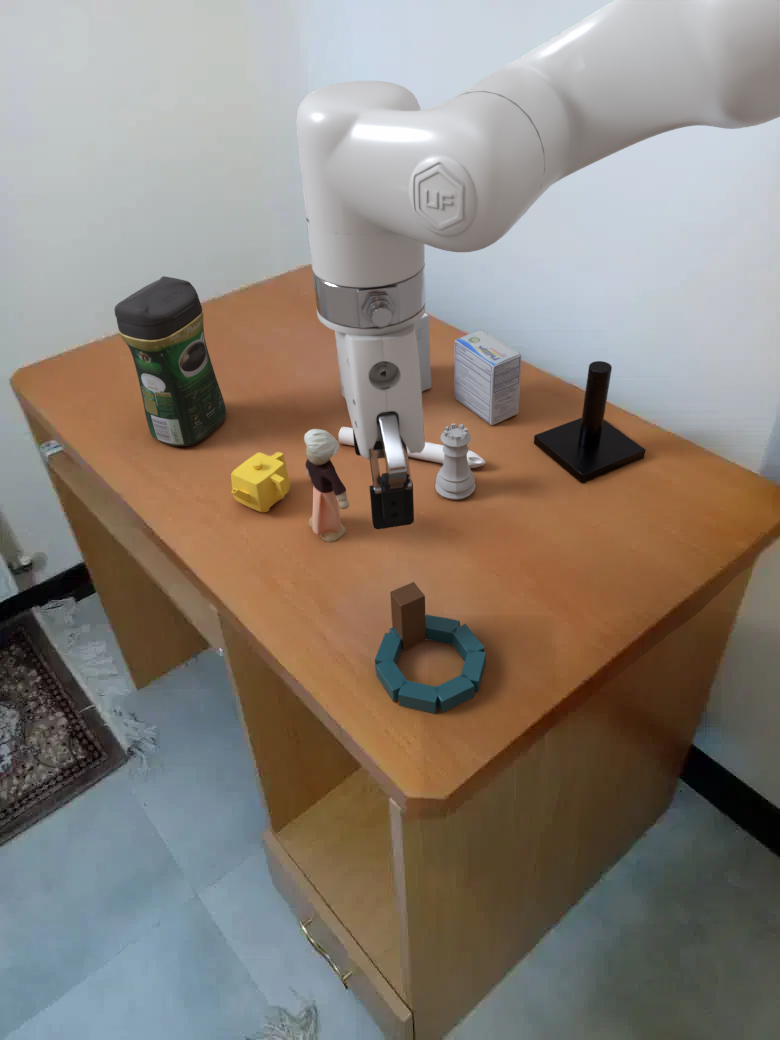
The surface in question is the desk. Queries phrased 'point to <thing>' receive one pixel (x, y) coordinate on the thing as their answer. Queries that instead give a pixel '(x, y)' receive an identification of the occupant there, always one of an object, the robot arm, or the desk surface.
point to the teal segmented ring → (414, 630)
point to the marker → (428, 453)
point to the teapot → (261, 481)
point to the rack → (590, 435)
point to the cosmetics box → (423, 352)
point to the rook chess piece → (455, 465)
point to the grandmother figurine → (325, 485)
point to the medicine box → (487, 376)
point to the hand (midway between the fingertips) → (382, 486)
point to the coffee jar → (172, 361)
